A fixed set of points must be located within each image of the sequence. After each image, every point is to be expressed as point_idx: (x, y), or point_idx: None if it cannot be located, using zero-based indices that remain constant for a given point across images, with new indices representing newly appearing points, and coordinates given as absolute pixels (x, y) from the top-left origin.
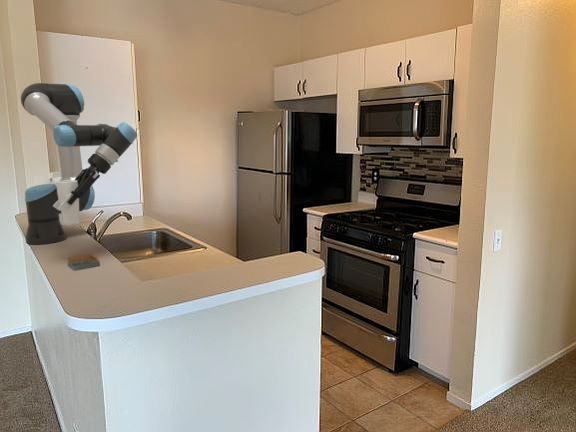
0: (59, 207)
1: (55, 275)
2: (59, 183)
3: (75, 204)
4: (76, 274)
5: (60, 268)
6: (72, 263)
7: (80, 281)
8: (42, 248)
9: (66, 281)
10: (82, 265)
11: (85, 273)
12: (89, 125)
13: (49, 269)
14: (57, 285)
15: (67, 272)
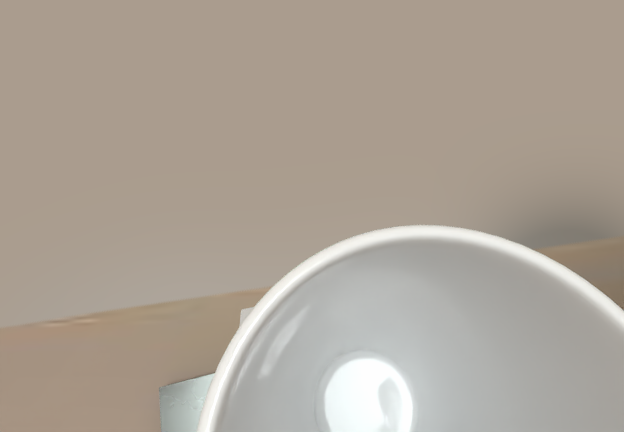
0: (241, 319)
1: (147, 320)
2: (278, 289)
3: None
4: (108, 393)
5: (231, 335)
6: (204, 381)
7: (8, 405)
8: (608, 258)
9: (46, 357)
10: (162, 422)
11: (97, 428)
12: None
13: (240, 298)
14: (24, 330)
15: (158, 360)
